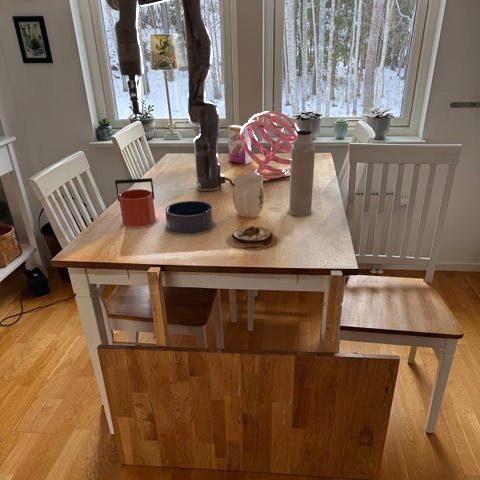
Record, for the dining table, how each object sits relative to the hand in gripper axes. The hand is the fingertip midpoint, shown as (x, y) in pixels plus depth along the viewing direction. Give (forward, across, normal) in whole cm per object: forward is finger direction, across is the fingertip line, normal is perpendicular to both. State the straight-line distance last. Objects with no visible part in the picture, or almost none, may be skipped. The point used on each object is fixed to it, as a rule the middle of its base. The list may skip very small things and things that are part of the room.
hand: (137, 112), depth 162 cm
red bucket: (+33, -17, +3) cm, 37 cm away
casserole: (+33, -25, -14) cm, 44 cm away
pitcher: (+34, -18, -35) cm, 52 cm away
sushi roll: (+34, -40, -33) cm, 62 cm away
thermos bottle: (+34, -18, -54) cm, 66 cm away
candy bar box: (+34, +58, -42) cm, 80 cm away
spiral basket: (+34, +32, -54) cm, 71 cm away
